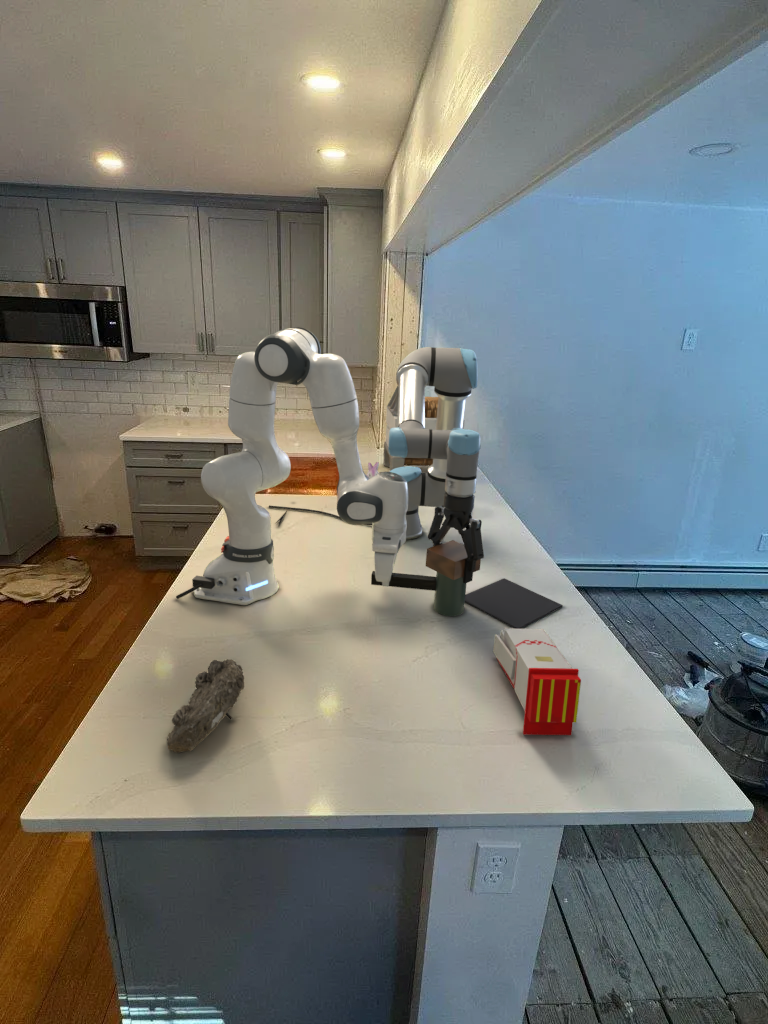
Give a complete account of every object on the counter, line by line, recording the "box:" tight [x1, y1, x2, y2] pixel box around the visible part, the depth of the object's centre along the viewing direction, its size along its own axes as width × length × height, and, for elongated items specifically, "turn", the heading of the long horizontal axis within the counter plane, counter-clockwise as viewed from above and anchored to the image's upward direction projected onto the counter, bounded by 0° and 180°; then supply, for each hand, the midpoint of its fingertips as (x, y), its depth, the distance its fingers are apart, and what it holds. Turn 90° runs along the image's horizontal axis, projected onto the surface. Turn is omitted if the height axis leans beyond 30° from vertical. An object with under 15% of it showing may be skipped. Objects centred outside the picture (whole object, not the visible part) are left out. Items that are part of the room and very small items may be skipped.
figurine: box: [366, 461, 380, 479], centre depth 234 cm, size 9×10×15 cm
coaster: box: [464, 578, 563, 629], centre depth 156 cm, size 20×20×1 cm
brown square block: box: [425, 539, 482, 580], centre depth 146 cm, size 10×10×5 cm
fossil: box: [166, 658, 245, 754], centre depth 106 cm, size 22×10×15 cm
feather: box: [274, 510, 288, 528], centre depth 213 cm, size 2×28×2 cm
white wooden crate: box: [383, 385, 465, 472], centre depth 268 cm, size 34×33×41 cm
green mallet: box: [370, 570, 467, 617], centre depth 150 cm, size 25×8×12 cm, turn 83°
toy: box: [492, 627, 582, 736], centre depth 118 cm, size 12×13×30 cm
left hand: (386, 582), depth 151 cm, fingers closed on green mallet, 2 cm apart
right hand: (452, 574), depth 148 cm, fingers closed on brown square block, 10 cm apart
